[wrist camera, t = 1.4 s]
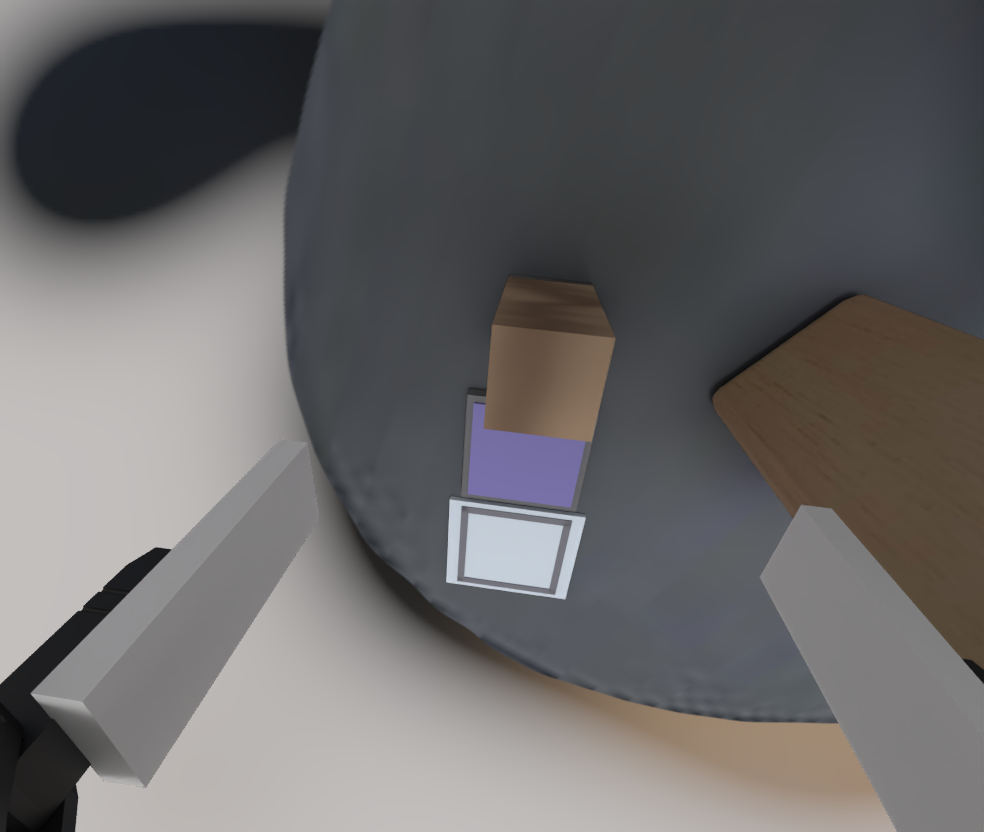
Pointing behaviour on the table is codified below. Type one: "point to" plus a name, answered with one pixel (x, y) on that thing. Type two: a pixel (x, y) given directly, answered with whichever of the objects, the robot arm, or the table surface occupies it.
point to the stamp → (547, 359)
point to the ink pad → (520, 463)
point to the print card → (512, 547)
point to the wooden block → (880, 447)
